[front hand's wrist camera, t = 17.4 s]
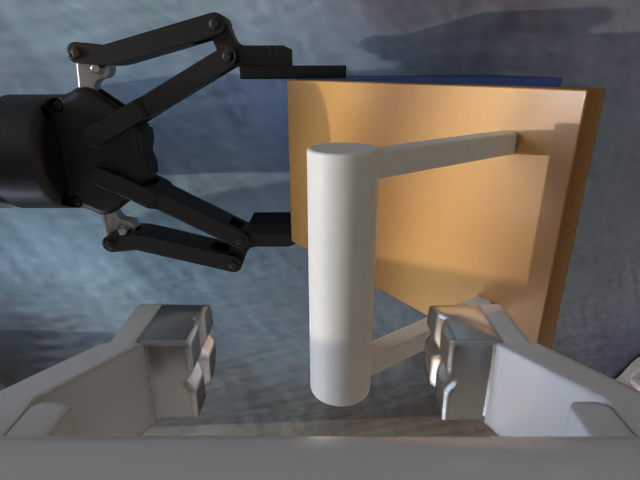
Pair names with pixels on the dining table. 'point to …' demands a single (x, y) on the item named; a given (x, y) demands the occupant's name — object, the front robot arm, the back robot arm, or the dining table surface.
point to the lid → (431, 209)
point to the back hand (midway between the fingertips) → (343, 151)
